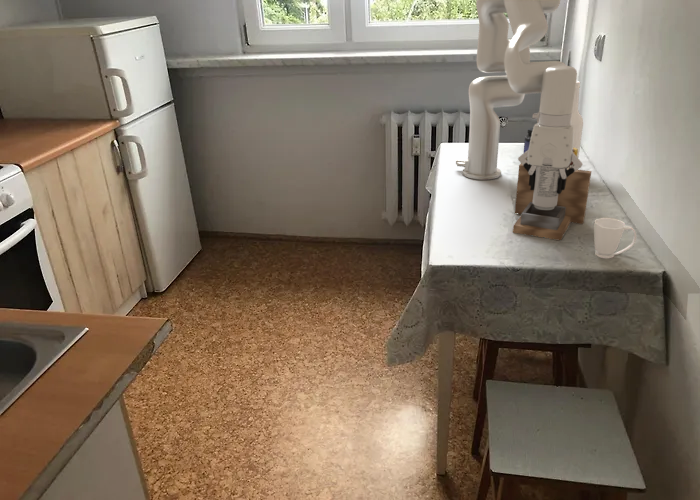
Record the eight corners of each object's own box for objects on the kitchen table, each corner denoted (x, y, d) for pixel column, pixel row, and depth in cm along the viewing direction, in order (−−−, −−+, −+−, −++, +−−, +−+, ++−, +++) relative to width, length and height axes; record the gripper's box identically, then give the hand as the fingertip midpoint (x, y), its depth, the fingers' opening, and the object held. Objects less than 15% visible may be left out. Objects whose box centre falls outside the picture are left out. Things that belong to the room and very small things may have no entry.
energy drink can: (556, 203, 151) (563, 147, 145) (557, 211, 146) (564, 153, 140) (532, 201, 153) (538, 146, 146) (532, 210, 148) (538, 152, 141)
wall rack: (501, 230, 151) (505, 179, 145) (516, 211, 163) (521, 163, 157) (573, 242, 143) (581, 189, 137) (583, 221, 155) (591, 171, 149)
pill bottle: (542, 162, 204) (546, 130, 199) (525, 162, 204) (528, 131, 199) (537, 157, 209) (541, 126, 205) (520, 157, 209) (523, 127, 205)
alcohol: (546, 171, 195) (556, 79, 182) (573, 171, 193) (586, 79, 180) (548, 179, 187) (560, 83, 174) (577, 180, 185) (591, 84, 172)
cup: (584, 248, 140) (589, 217, 137) (627, 248, 140) (633, 216, 136) (594, 261, 134) (599, 229, 131) (638, 261, 133) (645, 228, 130)
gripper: (514, 120, 141) (508, 190, 149) (589, 126, 133) (579, 200, 141) (522, 113, 147) (516, 181, 154) (595, 119, 139) (584, 190, 147)
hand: (546, 189), depth 147 cm, fingers closed on energy drink can, 6 cm apart
